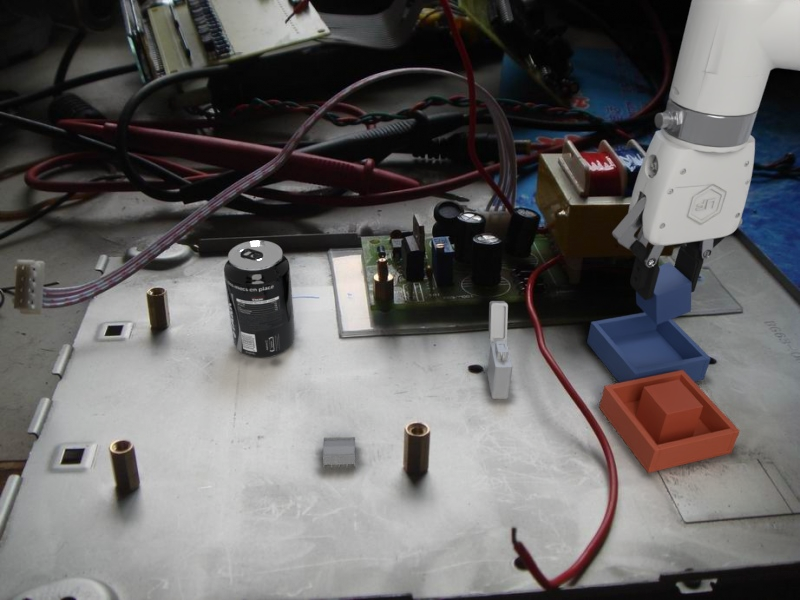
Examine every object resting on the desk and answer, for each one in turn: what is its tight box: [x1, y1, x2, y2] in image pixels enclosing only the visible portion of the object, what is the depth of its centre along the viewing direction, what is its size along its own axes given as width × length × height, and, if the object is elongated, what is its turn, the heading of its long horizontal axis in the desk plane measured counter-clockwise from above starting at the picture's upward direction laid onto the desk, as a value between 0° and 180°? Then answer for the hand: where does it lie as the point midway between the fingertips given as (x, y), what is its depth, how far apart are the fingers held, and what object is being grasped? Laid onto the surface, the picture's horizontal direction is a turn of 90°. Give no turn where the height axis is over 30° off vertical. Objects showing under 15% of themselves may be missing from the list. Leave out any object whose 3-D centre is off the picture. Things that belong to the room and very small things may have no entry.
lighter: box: [486, 300, 514, 400], centre depth 79 cm, size 7×2×8 cm, turn 2°
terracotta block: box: [636, 380, 703, 444], centre depth 73 cm, size 4×4×4 cm
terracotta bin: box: [598, 370, 740, 474], centre depth 74 cm, size 9×9×3 cm
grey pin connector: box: [322, 436, 357, 470], centre depth 70 cm, size 3×2×2 cm
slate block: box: [635, 262, 692, 325], centre depth 78 cm, size 4×4×4 cm
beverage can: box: [223, 240, 296, 359], centre depth 81 cm, size 7×7×12 cm
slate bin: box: [586, 311, 711, 383], centre depth 83 cm, size 9×9×3 cm
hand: (661, 287), depth 78 cm, fingers closed on slate block, 4 cm apart
